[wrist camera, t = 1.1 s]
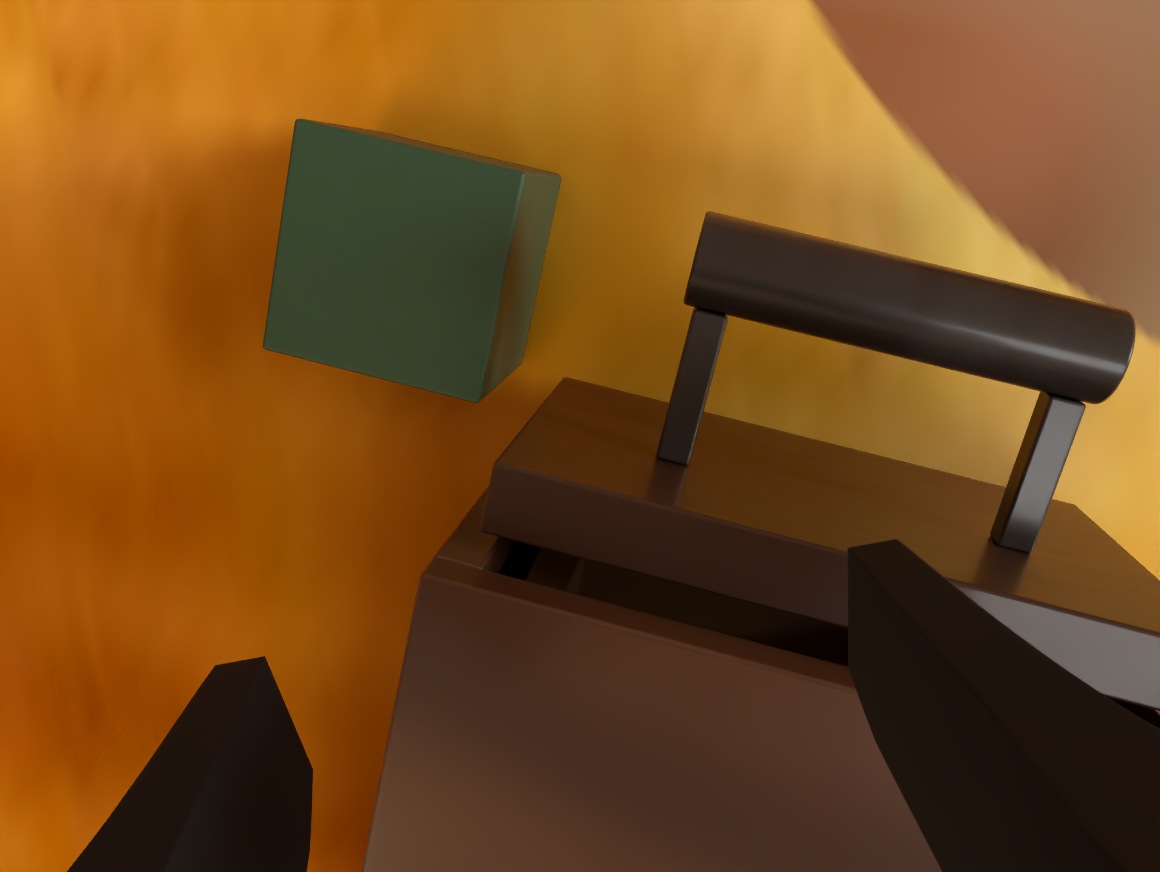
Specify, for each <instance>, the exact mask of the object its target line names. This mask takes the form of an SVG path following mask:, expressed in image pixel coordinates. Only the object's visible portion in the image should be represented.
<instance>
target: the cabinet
mask: <svg viewBox="0 0 1160 872" xmlns="http://www.w3.org/2000/svg"><path fill="white" fill-rule="evenodd" d="M488 488H489V486H488V487H487V489H486V490H485V491H484V492H483V494H482V495H481V496H480V498H479V499H478V500H477V502H476V503H475V504H474V505H473V507H472V508H471V509H470V511H469V512H468V513H467V515H466V516H465V517H464V518H463V520H462V521H461V522H460V524H459V525H458V526H457V528H456V529H455V530H454V531H453V533H452V534H451V535H450V537H449V538H448V539H447V541H446V542H445V543H444V544H443V546H442V547H441V548H440V550H439V551H438V552H437V554H436V555H435V556H434V558H433V559H432V561H431V562H430V563H429V565H428V566H427V567H426V569H425V570H424V571H423V572H422V574H421V575H420V578H419V583H418V588H417V593H416V598H415V604H414V609H413V614H412V619H411V624H410V629H409V634H408V639H407V644H406V649H405V654H404V659H403V664H402V669H401V674H400V679H399V684H398V689H397V694H396V699H395V704H394V709H393V714H392V720H391V725H390V730H389V735H388V740H387V745H386V750H385V755H384V760H383V765H382V770H381V775H380V780H379V785H378V790H377V795H376V800H375V805H374V810H373V815H372V820H371V825H370V830H369V836H368V841H367V846H366V851H365V856H364V861H363V866H362V871H361V872H942V870H941V869H940V867H939V865H938V863H937V861H936V859H935V857H934V855H933V853H932V851H931V849H930V847H929V845H928V843H927V842H926V840H925V838H924V836H923V834H922V832H921V830H920V828H919V826H918V824H917V822H916V820H915V818H914V816H913V815H912V813H911V811H910V809H909V807H908V805H907V803H906V801H905V799H904V797H903V795H902V793H901V791H900V789H899V787H898V785H897V783H896V781H895V780H894V778H893V776H892V774H891V772H890V770H889V768H888V766H887V764H886V762H885V760H884V758H883V756H882V754H881V752H880V750H879V748H878V746H877V744H876V742H875V739H874V736H873V734H872V731H871V729H870V726H869V723H868V721H867V718H866V716H865V713H864V710H863V708H862V705H861V702H860V699H859V697H858V694H857V691H856V688H855V686H854V683H853V680H852V677H851V674H850V672H849V669H848V667H846V666H843V665H839V664H835V663H831V662H828V661H824V660H820V659H816V658H813V657H809V656H805V655H801V654H798V653H794V652H790V651H786V650H783V649H779V648H775V647H771V646H768V645H764V644H760V643H756V642H753V641H749V640H745V639H741V638H738V637H734V636H730V635H726V634H723V633H719V632H715V631H711V630H708V629H704V628H700V627H696V626H693V625H689V624H685V623H681V622H678V621H674V620H670V619H666V618H663V617H659V616H655V615H651V614H648V613H644V612H640V611H636V610H633V609H629V608H625V607H621V606H618V605H614V604H610V603H606V602H603V601H599V600H595V599H591V598H588V597H584V596H580V595H576V594H573V593H569V592H565V591H561V590H558V589H554V588H550V587H546V586H543V585H539V584H535V583H531V582H528V581H524V580H525V578H526V576H527V574H528V572H529V570H530V568H531V566H532V564H533V562H534V560H535V558H536V556H537V554H538V552H539V550H540V547H536V546H532V545H529V544H525V543H521V542H517V541H513V540H510V539H506V538H502V537H498V536H495V535H491V534H487V533H483V532H482V531H481V529H480V525H481V521H482V516H483V511H484V507H485V502H486V497H487V493H488ZM1109 699H1111V700H1113V701H1114V702H1116V703H1117V704H1119V705H1120V706H1122V707H1124V708H1125V709H1127V710H1129V711H1130V712H1132V713H1134V714H1135V715H1137V716H1138V717H1140V718H1142V719H1144V720H1145V721H1147V722H1149V723H1151V724H1152V725H1154V726H1156V727H1158V728H1159V729H1160V711H1158V710H1154V709H1150V708H1146V707H1142V706H1139V705H1135V704H1131V703H1127V702H1124V701H1120V700H1116V699H1112V698H1109Z"/></svg>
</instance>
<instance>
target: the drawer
mask: <svg viewBox="0 0 1160 872" xmlns="http://www.w3.org/2000/svg"><path fill="white" fill-rule="evenodd" d="M684 304H686V305H688V306H692V307H695V308H694V309H693V313H692V317H691V321H690V324H689V328H688V332H687V336H686V340H685V344H684V348H683V352H682V356H681V360H680V363H679V367H678V371H677V375H676V379H675V383H674V387H673V391H672V395H671V399H670V402H669V403H667V402H663V401H659V400H655V399H651V398H647V397H643V396H639V395H635V394H631V393H627V392H623V391H619V390H615V389H611V388H607V387H603V386H599V385H595V384H591V383H587V382H583V381H579V380H575V379H571V378H567V377H564V378H563V379H562V380H561V382H560V383H559V384H558V385H557V386H556V388H555V389H554V390H553V391H552V393H551V394H550V395H549V396H548V398H547V399H546V400H545V401H544V403H543V404H542V405H541V406H540V407H539V409H538V410H537V411H536V412H535V414H534V415H533V416H532V417H531V419H530V420H529V421H528V422H527V423H526V425H525V426H524V427H523V428H522V430H521V431H520V432H519V433H518V435H517V436H516V437H515V438H514V440H513V441H512V442H511V443H510V444H509V446H508V447H507V448H506V449H505V451H504V452H503V453H502V454H501V456H500V457H499V458H498V459H497V460H496V462H495V463H494V464H493V469H492V474H491V478H490V483H489V488H488V493H487V497H486V502H485V507H484V511H483V516H482V521H481V525H480V529H481V531H482V532H483V533H487V534H491V535H495V536H498V537H502V538H506V539H510V540H513V541H517V542H521V543H525V544H529V545H532V546H536V547H540V550H539V552H538V554H537V556H536V558H535V560H534V562H533V564H532V566H531V568H530V570H529V572H528V574H527V576H526V578H525V580H524V581H528V582H531V583H535V584H539V585H543V586H546V587H550V588H554V589H558V590H561V591H565V592H569V593H573V594H576V595H580V596H584V597H588V598H591V599H595V600H599V601H603V602H606V603H610V604H614V605H618V606H621V607H625V608H629V609H633V610H636V611H640V612H644V613H648V614H651V615H655V616H659V617H663V618H666V619H670V620H674V621H678V622H681V623H685V624H689V625H693V626H696V627H700V628H704V629H708V630H711V631H715V632H719V633H723V634H726V635H730V636H734V637H738V638H741V639H745V640H749V641H753V642H756V643H760V644H764V645H768V646H771V647H775V648H779V649H783V650H786V651H790V652H794V653H798V654H801V655H805V656H809V657H813V658H816V659H820V660H824V661H828V662H831V663H835V664H839V665H843V666H846V667H848V548H850V547H855V546H860V545H866V544H871V543H876V542H882V541H887V540H892V539H898V540H899V541H900V542H902V543H903V544H904V545H906V546H907V547H908V548H909V549H911V550H912V551H913V552H914V553H916V554H917V555H918V556H919V557H920V558H922V559H923V560H924V561H925V562H927V563H928V564H929V565H930V566H931V567H933V568H934V569H935V570H936V571H938V572H939V573H940V574H941V575H942V576H944V577H945V578H946V579H947V580H949V581H950V582H951V583H952V584H953V585H955V586H956V587H957V588H958V589H960V590H961V591H962V592H963V593H965V594H966V595H967V596H968V597H970V598H971V599H972V600H973V601H975V602H976V603H977V604H978V605H980V606H981V607H982V608H984V609H985V610H986V611H987V612H989V613H990V614H991V615H993V616H994V617H995V618H996V619H998V620H999V621H1000V622H1002V623H1003V624H1004V625H1006V626H1007V627H1008V628H1010V629H1011V630H1012V631H1014V632H1015V633H1016V634H1018V635H1019V636H1021V637H1022V638H1023V639H1025V640H1026V641H1027V642H1029V643H1030V644H1031V645H1033V646H1034V647H1035V648H1037V649H1038V650H1039V651H1041V652H1042V653H1043V654H1045V655H1046V656H1048V657H1049V658H1051V659H1052V660H1053V661H1055V662H1056V663H1058V664H1059V665H1060V666H1062V667H1063V668H1065V669H1066V670H1068V671H1069V672H1070V673H1072V674H1073V675H1075V676H1076V677H1078V678H1079V679H1081V680H1082V681H1084V682H1085V683H1087V684H1088V685H1090V686H1091V687H1093V688H1094V689H1096V690H1097V691H1099V692H1100V693H1102V694H1103V695H1105V696H1106V697H1108V698H1112V699H1116V700H1120V701H1124V702H1127V703H1131V704H1135V705H1139V706H1142V707H1146V708H1150V709H1154V710H1158V711H1160V581H1159V580H1158V579H1157V578H1156V577H1155V576H1154V575H1153V574H1152V573H1150V572H1149V571H1148V570H1147V569H1146V568H1145V567H1144V566H1143V565H1141V564H1140V563H1139V562H1138V561H1137V560H1136V559H1135V558H1134V557H1133V556H1131V555H1130V554H1129V553H1128V552H1127V551H1126V550H1125V549H1124V548H1122V547H1121V546H1120V545H1119V544H1118V543H1117V542H1116V541H1115V540H1114V539H1112V538H1111V537H1110V536H1109V535H1108V534H1107V533H1106V532H1105V531H1103V530H1102V529H1101V528H1100V527H1099V526H1098V525H1097V524H1096V523H1094V522H1093V521H1092V520H1091V519H1090V518H1089V517H1088V516H1087V515H1086V514H1084V513H1083V512H1082V511H1081V510H1080V509H1079V508H1078V507H1077V506H1075V505H1073V504H1069V503H1065V502H1061V501H1057V500H1053V499H1052V497H1053V494H1054V491H1055V489H1056V486H1057V483H1058V481H1059V478H1060V475H1061V473H1062V470H1063V467H1064V464H1065V462H1066V459H1067V456H1068V454H1069V451H1070V448H1071V445H1072V443H1073V440H1074V437H1075V435H1076V432H1077V429H1078V427H1079V424H1080V421H1081V418H1082V416H1083V413H1084V410H1085V408H1086V406H1085V404H1084V403H1082V402H1086V403H1090V404H1099V403H1102V402H1104V401H1105V400H1107V399H1108V398H1109V397H1110V396H1111V395H1112V394H1113V393H1114V391H1115V390H1116V389H1117V387H1118V385H1119V384H1120V382H1121V380H1122V379H1123V377H1124V374H1125V372H1126V370H1127V368H1128V365H1129V362H1130V359H1131V356H1132V352H1133V348H1134V342H1135V322H1134V319H1133V317H1132V315H1131V313H1130V312H1128V311H1127V310H1125V309H1121V308H1117V307H1113V306H1109V305H1104V304H1100V303H1096V302H1092V301H1087V300H1083V299H1079V298H1075V297H1070V296H1066V295H1062V294H1058V293H1054V292H1049V291H1045V290H1041V289H1037V288H1032V287H1028V286H1024V285H1020V284H1015V283H1011V282H1007V281H1003V280H999V279H994V278H990V277H986V276H982V275H977V274H973V273H969V272H965V271H960V270H956V269H952V268H948V267H944V266H939V265H935V264H931V263H927V262H922V261H918V260H914V259H910V258H905V257H901V256H897V255H893V254H889V253H884V252H880V251H876V250H872V249H867V248H863V247H859V246H855V245H850V244H846V243H842V242H838V241H834V240H829V239H825V238H821V237H817V236H812V235H808V234H804V233H800V232H795V231H791V230H787V229H783V228H779V227H774V226H770V225H766V224H762V223H757V222H753V221H749V220H745V219H740V218H736V217H732V216H728V215H724V214H719V213H715V212H711V211H709V212H707V213H706V214H705V218H704V221H703V225H702V229H701V233H700V237H699V241H698V245H697V249H696V252H695V256H694V260H693V264H692V268H691V272H690V276H689V280H688V284H687V288H686V292H685V296H684ZM727 315H729V316H733V317H737V318H741V319H745V320H749V321H753V322H758V323H762V324H766V325H770V326H774V327H778V328H782V329H786V330H790V331H795V332H799V333H803V334H807V335H811V336H815V337H819V338H823V339H827V340H831V341H836V342H840V343H844V344H848V345H852V346H856V347H860V348H864V349H868V350H873V351H877V352H881V353H885V354H889V355H893V356H897V357H901V358H905V359H909V360H914V361H918V362H922V363H926V364H930V365H934V366H938V367H942V368H946V369H951V370H955V371H959V372H963V373H967V374H971V375H975V376H979V377H983V378H987V379H992V380H996V381H1000V382H1004V383H1008V384H1012V385H1016V386H1020V387H1024V388H1029V389H1033V390H1037V391H1041V392H1040V394H1039V397H1038V400H1037V402H1036V405H1035V408H1034V411H1033V414H1032V416H1031V419H1030V422H1029V425H1028V428H1027V430H1026V433H1025V436H1024V439H1023V442H1022V445H1021V447H1020V450H1019V453H1018V456H1017V459H1016V461H1015V464H1014V467H1013V470H1012V473H1011V475H1010V478H1009V481H1008V484H1007V487H1006V488H1005V487H1002V486H998V485H994V484H990V483H986V482H982V481H978V480H974V479H970V478H966V477H962V476H958V475H954V474H950V473H946V472H942V471H938V470H934V469H930V468H926V467H922V466H918V465H914V464H910V463H906V462H902V461H898V460H894V459H890V458H886V457H882V456H878V455H874V454H870V453H866V452H862V451H858V450H854V449H850V448H846V447H842V446H838V445H834V444H830V443H826V442H822V441H818V440H814V439H810V438H806V437H802V436H798V435H794V434H790V433H786V432H782V431H778V430H774V429H770V428H766V427H762V426H758V425H754V424H750V423H747V422H743V421H739V420H735V419H731V418H727V417H723V416H719V415H715V414H711V413H707V412H703V411H704V407H705V403H706V400H707V396H708V392H709V388H710V385H711V381H712V377H713V373H714V370H715V366H716V362H717V358H718V355H719V351H720V347H721V343H722V340H723V336H724V332H725V328H726V325H727ZM1080 401H1082V402H1080Z"/></svg>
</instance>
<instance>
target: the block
mask: <svg viewBox="0 0 1160 872" xmlns="http://www.w3.org/2000/svg"><path fill="white" fill-rule="evenodd" d="M560 182H561V176H560V175H559V174H556V173H552V172H548V171H543V170H539V169H535V168H531V167H526V166H522V165H518V164H514V163H510V162H505V161H501V160H497V159H493V158H488V157H484V156H480V155H476V154H471V153H467V152H463V151H459V150H454V149H450V148H446V147H442V146H438V145H433V144H429V143H425V142H421V141H416V140H412V139H408V138H404V137H399V136H395V135H391V134H387V133H383V132H378V131H374V130H367V129H361V128H355V127H349V126H343V125H337V124H330V123H324V122H318V121H312V120H306V119H296V121H295V126H294V133H293V140H292V147H291V154H290V161H289V168H288V175H287V181H286V188H285V195H284V202H283V209H282V216H281V223H280V230H279V237H278V244H277V251H276V258H275V265H274V272H273V279H272V286H271V293H270V299H269V306H268V313H267V320H266V327H265V334H264V341H263V348H264V349H266V350H270V351H273V352H277V353H281V354H285V355H289V356H293V357H297V358H301V359H305V360H309V361H313V362H317V363H321V364H325V365H328V366H332V367H336V368H340V369H344V370H348V371H352V372H356V373H360V374H364V375H368V376H372V377H376V378H380V379H383V380H387V381H391V382H395V383H399V384H403V385H407V386H411V387H415V388H419V389H423V390H427V391H431V392H435V393H438V394H442V395H446V396H450V397H454V398H458V399H462V400H466V401H470V402H474V403H478V402H480V401H481V400H482V399H483V398H484V397H485V396H486V395H487V394H488V393H490V392H491V391H492V390H493V389H494V388H495V387H496V386H497V385H498V384H500V383H501V382H502V381H503V380H504V379H505V378H506V377H507V376H508V375H510V374H511V373H512V372H513V371H514V370H515V369H516V368H517V367H518V366H520V364H521V363H522V359H523V354H524V350H525V345H526V340H527V336H528V331H529V326H530V322H531V317H532V312H533V308H534V303H535V298H536V294H537V289H538V284H539V280H540V275H541V270H542V266H543V261H544V256H545V252H546V247H547V242H548V238H549V233H550V228H551V224H552V219H553V214H554V210H555V205H556V200H557V196H558V191H559V186H560Z"/></svg>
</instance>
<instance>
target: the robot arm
mask: <svg viewBox="0 0 1160 872" xmlns="http://www.w3.org/2000/svg"><path fill="white" fill-rule="evenodd" d="M848 669H849V672H850V674H851V677H852V680H853V683H854V686H855V688H856V691H857V694H858V697H859V699H860V702H861V705H862V708H863V710H864V713H865V716H866V718H867V721H868V723H869V726H870V729H871V731H872V734H873V736H874V739H875V742H876V744H877V746H878V748H879V750H880V752H881V754H882V756H883V758H884V760H885V762H886V764H887V766H888V768H889V770H890V772H891V774H892V776H893V778H894V780H895V781H896V783H897V785H898V787H899V789H900V791H901V793H902V795H903V797H904V799H905V801H906V803H907V805H908V807H909V809H910V811H911V813H912V815H913V816H914V818H915V820H916V822H917V824H918V826H919V828H920V830H921V832H922V834H923V836H924V838H925V840H926V842H927V843H928V845H929V847H930V849H931V851H932V853H933V855H934V857H935V859H936V861H937V863H938V865H939V867H940V869H941V870H942V872H1160V729H1159V728H1158V727H1156V726H1154V725H1152V724H1151V723H1149V722H1147V721H1145V720H1144V719H1142V718H1140V717H1138V716H1137V715H1135V714H1134V713H1132V712H1130V711H1129V710H1127V709H1125V708H1124V707H1122V706H1120V705H1119V704H1117V703H1116V702H1114V701H1113V700H1111V699H1109V698H1108V697H1106V696H1105V695H1103V694H1102V693H1100V692H1099V691H1097V690H1096V689H1094V688H1093V687H1091V686H1090V685H1088V684H1087V683H1085V682H1084V681H1082V680H1081V679H1079V678H1078V677H1076V676H1075V675H1073V674H1072V673H1070V672H1069V671H1068V670H1066V669H1065V668H1063V667H1062V666H1060V665H1059V664H1058V663H1056V662H1055V661H1053V660H1052V659H1051V658H1049V657H1048V656H1046V655H1045V654H1043V653H1042V652H1041V651H1039V650H1038V649H1037V648H1035V647H1034V646H1033V645H1031V644H1030V643H1029V642H1027V641H1026V640H1025V639H1023V638H1022V637H1021V636H1019V635H1018V634H1016V633H1015V632H1014V631H1012V630H1011V629H1010V628H1008V627H1007V626H1006V625H1004V624H1003V623H1002V622H1000V621H999V620H998V619H996V618H995V617H994V616H993V615H991V614H990V613H989V612H987V611H986V610H985V609H984V608H982V607H981V606H980V605H978V604H977V603H976V602H975V601H973V600H972V599H971V598H970V597H968V596H967V595H966V594H965V593H963V592H962V591H961V590H960V589H958V588H957V587H956V586H955V585H953V584H952V583H951V582H950V581H949V580H947V579H946V578H945V577H944V576H942V575H941V574H940V573H939V572H938V571H936V570H935V569H934V568H933V567H931V566H930V565H929V564H928V563H927V562H925V561H924V560H923V559H922V558H920V557H919V556H918V555H917V554H916V553H914V552H913V551H912V550H911V549H909V548H908V547H907V546H906V545H904V544H903V543H902V542H900V541H899V540H898V539H892V540H887V541H882V542H876V543H871V544H866V545H860V546H855V547H850V548H848ZM312 783H313V768H312V766H311V764H310V761H309V759H308V757H307V754H306V752H305V750H304V747H303V745H302V743H301V740H300V738H299V736H298V733H297V731H296V728H295V726H294V724H293V721H292V719H291V717H290V714H289V712H288V710H287V707H286V705H285V703H284V700H283V698H282V696H281V693H280V691H279V689H278V686H277V684H276V682H275V679H274V677H273V674H272V672H271V670H270V667H269V665H268V663H267V660H266V658H265V656H264V657H258V658H253V659H248V660H242V661H237V662H231V663H226V664H221V665H215V667H214V668H213V669H212V671H211V672H210V673H209V675H208V676H207V678H206V679H205V680H204V682H203V683H202V685H201V686H200V688H199V689H198V690H197V692H196V693H195V695H194V696H193V698H192V699H191V701H190V702H189V703H188V705H187V706H186V708H185V709H184V711H183V712H182V714H181V715H180V717H179V718H178V720H177V721H176V723H175V724H174V726H173V727H172V728H171V730H170V731H169V733H168V734H167V736H166V737H165V739H164V740H163V742H162V743H161V745H160V746H159V747H158V749H157V750H156V752H155V753H154V755H153V756H152V758H151V759H150V761H149V762H148V763H147V765H146V766H145V768H144V769H143V770H142V772H141V773H140V775H139V776H138V777H137V779H136V780H135V782H134V783H133V784H132V786H131V787H130V789H129V790H128V791H127V793H126V794H125V796H124V797H123V798H122V800H121V801H120V803H119V804H118V805H117V807H116V808H115V810H114V811H113V812H112V814H111V815H110V817H109V818H108V819H107V821H106V822H105V823H104V825H103V826H102V827H101V829H100V830H99V831H98V833H97V834H96V835H95V837H94V838H93V839H92V840H91V842H90V843H89V844H88V845H87V847H86V848H85V849H84V851H83V852H82V853H81V854H80V856H79V857H78V858H77V860H76V861H75V862H74V863H73V865H72V866H71V867H70V869H69V870H68V871H67V872H307V865H308V859H309V852H310V836H311V817H312Z"/></svg>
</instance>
